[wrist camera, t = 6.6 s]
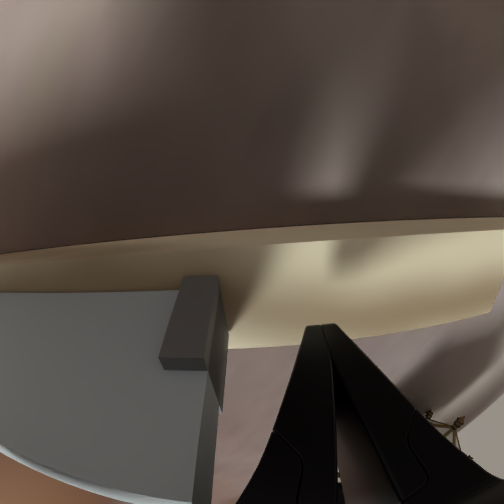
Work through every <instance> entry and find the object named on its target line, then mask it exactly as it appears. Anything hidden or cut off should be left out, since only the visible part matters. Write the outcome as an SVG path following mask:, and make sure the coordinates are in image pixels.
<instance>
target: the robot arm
mask: <svg viewBox="0 0 504 504" xmlns="http://www.w3.org/2000/svg"><path fill="white" fill-rule="evenodd" d="M337 464H338V465H337ZM338 469H339V474H340V479H341V483H342V485H338ZM236 504H504V480H503V479H500V478H498V477H496V476H494V475H492V474H490V473H489V472H487V471H485V470H484V469H483V468H482V467H481V466H479V465H478V464H477V463H476V462H474V461H473V460H472V459H471V458H470V457H468V456H467V455H466V454H465V453H463V452H462V451H461V450H460V449H459V448H457V447H456V446H455V445H454V444H453V443H452V442H450V441H449V440H448V439H447V438H446V437H445V436H444V435H442V434H441V433H440V432H439V431H438V430H437V429H436V428H435V427H434V426H433V425H432V424H431V423H430V422H429V421H428V420H427V419H426V418H425V417H424V416H423V415H422V413H421V412H420V411H419V410H418V409H416V410H415V406H414V405H413V404H412V403H411V402H410V401H409V400H408V399H407V398H406V397H405V396H404V394H403V393H402V392H401V391H400V390H399V389H398V388H397V387H396V386H395V385H394V384H393V383H392V382H391V381H390V380H389V379H388V377H387V376H386V375H385V374H384V373H383V372H382V371H381V370H380V369H379V368H378V367H377V366H376V365H375V364H374V363H373V362H372V361H371V360H370V359H369V357H368V356H367V355H366V354H365V353H364V352H363V351H362V350H361V349H360V348H359V347H358V346H357V345H356V344H355V343H354V342H353V341H352V340H351V339H350V338H349V337H348V335H347V334H346V333H345V332H344V331H343V330H342V329H341V328H340V327H339V326H338V325H337V324H335V323H329V324H322V325H319V324H318V325H308V326H306V327H305V331H304V334H303V337H302V341H301V344H300V348H299V351H298V354H297V358H296V361H295V364H294V367H293V371H292V374H291V377H290V380H289V383H288V386H287V389H286V392H285V395H284V398H283V401H282V404H281V407H280V410H279V413H278V416H277V419H276V422H275V424H274V427H273V432H272V433H271V435H270V438H269V441H268V443H267V446H266V448H265V451H264V453H263V455H262V458H261V460H260V462H259V465H258V466H257V468H256V470H255V472H254V474H253V476H252V478H251V479H250V481H249V483H248V485H247V486H246V488H245V490H244V491H243V493H242V494H241V496H240V498H239V499H238V501H237V502H236Z"/></svg>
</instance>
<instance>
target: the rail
mask: <svg viewBox="0 0 504 504" xmlns="http://www.w3.org/2000/svg"><path fill="white" fill-rule="evenodd" d="M211 275H218V279H219V285H220V290H221V295H222V301H223V306H224V311H225V317H226V322H227V327H228V332H229V341H228V349H235V348H258V347H274V346H288V345H300V344H301V341H302V337H303V334H304V331H305V327H306V326H308V325H318V324H319V325H322V324H329V323H335V324H337V325H338V326H339V327H340V328H341V329H342V330H343V331H344V332H345V333H346V334H347V335H348V337H349V338H350V339H356V338H363V337H370V336H377V335H384V334H390V333H396V332H402V331H408V330H413V329H419V328H424V327H429V326H434V325H439V324H444V323H449V322H453V321H458V320H462V319H466V318H470V317H475V316H479V315H483V314H487V313H490V311H491V308H492V306H493V304H494V301H495V299H496V297H497V294H498V292H499V289H500V287H501V284H502V281H503V279H504V217H489V218H453V219H425V220H401V221H380V222H360V223H342V224H325V225H308V226H293V227H278V228H264V229H250V230H237V231H224V232H211V233H199V234H187V235H176V236H164V237H153V238H143V239H132V240H122V241H112V242H102V243H92V244H83V245H74V246H65V247H56V248H47V249H39V250H30V251H22V252H14V253H6V254H0V293H94V292H136V291H165V290H179V289H180V286H181V283H182V280H183V277H194V276H211Z"/></svg>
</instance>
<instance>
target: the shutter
mask: <svg viewBox="0 0 504 504" xmlns="http://www.w3.org/2000/svg"><path fill="white" fill-rule="evenodd" d="M228 341H229V332H228V327H227V322H226V317H225V311H224V306H223V301H222V295H221V290H220V285H219V279H218V275H211V276H194V277H183V280H182V283H181V286H180V289H179V290H165V291H136V292H94V293H0V452H1V453H3V454H5V455H7V456H8V457H11V458H12V459H14V460H16V461H18V462H20V463H22V464H24V465H26V466H28V467H30V468H32V469H34V470H36V471H39V472H41V473H43V474H45V475H47V476H50V477H53V478H55V479H57V480H60V481H62V482H65V483H67V484H70V485H73V486H75V487H78V488H81V489H84V490H87V491H90V492H93V493H97V494H100V495H103V496H106V497H110V498H114V499H117V500H121V501H125V502H129V503H133V504H211V499H212V486H213V473H214V461H215V449H216V437H217V426H218V414H222V410H223V398H224V386H225V375H226V363H227V352H228Z"/></svg>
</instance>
